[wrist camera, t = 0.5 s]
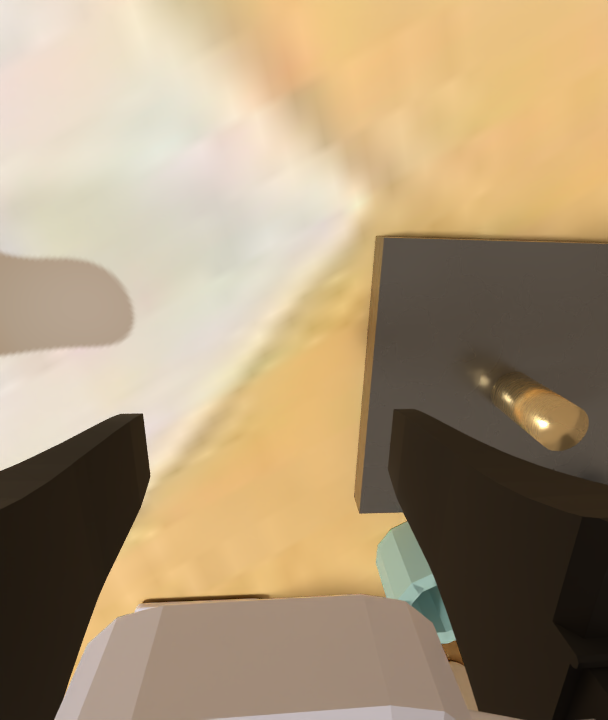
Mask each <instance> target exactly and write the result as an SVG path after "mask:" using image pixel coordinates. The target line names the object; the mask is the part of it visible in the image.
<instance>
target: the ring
mask: <svg viewBox="0 0 608 720" xmlns="http://www.w3.org/2000/svg"><path fill="white" fill-rule="evenodd" d="M376 565H377V568H378V572H379V575H380V578H381V582H382V585H383V588H384V591H385V595H386V598H391V599H397V600H402V601H406V602H407V603H408V604H409V605H411V606H412V607H413V608H414V609H416V610H417V611H418V612H419V613H421V614H422V615H423V616H425V617H426V618H427V619H428V620H430V621H431V622H432V623H433V625H434V627H435V630H436V632H437V635H438V637H439V640H440V642H441V644H446V643H450V642H452V641H455V640H456V639H455V636H454V633H453V630H452V627H451V624H450V621H449V618H448V615H447V612H446V609H445V606H444V604H443V601H442V598H441V595H440V592H439V590H438V587H437V584H436V581H435V579H434V576H433V574H432V572H431V569H430V567H429V565H428V563H427V561H426V558H425V556H424V554H423V552H422V550H421V548H420V546H419V544H418V542H417V540H416V538H415V536H414V534H413V532H412V530H411V527H410V525H409V523H408V521H407V522H405V523H403V524H401V525H399V526H397V527H394V528H392V529H391V530H390V531H389V532H388V533H387V535H386V536H385V537H384V538H383V540H382V541H381V542H380V543H379V545H378V549H377V558H376Z"/></svg>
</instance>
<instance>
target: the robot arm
mask: <svg viewBox="0 0 608 720" xmlns="http://www.w3.org/2000/svg"><path fill="white" fill-rule="evenodd" d="M388 472H389V475H390V479H391V482H392V485H393V488H394V491H395V495H396V498H397V500H398V502H399V504H400V506H401V509H402V511H403V513H404V515H405V517H406V519H407V521H408V523H409V525H410V527H411V530H412V532H413V534H414V536H415V538H416V540H417V542H418V544H419V546H420V548H421V550H422V552H423V554H424V556H425V558H426V561H427V563H428V565H429V567H430V569H431V572H432V574H433V576H434V579H435V581H436V584H437V587H438V590H439V592H440V595H441V598H442V601H443V604H444V606H445V609H446V612H447V615H448V618H449V621H450V624H451V627H452V630H453V633H454V636H455V639H456V641H457V644H458V647H459V650H460V653H461V656H462V660H463V663H464V666H465V669H466V673H467V676H468V679H469V682H470V686H471V689H472V692H473V695H474V698H475V702H476V705H477V708H478V711H474V710H469V709H467V706H466V704H465V701H464V699H463V696H462V694H461V691H460V689H459V686H458V684H457V682H456V679H455V677H454V674H453V672H452V669H451V667H450V664H449V662H448V659H447V657H446V654H445V652H444V649H443V647H442V644H441V642H440V640H439V637H438V635H437V632H436V630H435V627H434V625H433V623H432V622H431V621H430V620H428V619H427V618H426V617H425V616H423V615H422V614H421V613H419V612H418V611H417V610H416V609H414V608H413V607H412V606H411V605H409V604H408V603H407V602H406V601H402V600H397V599H391V598H384V597H378V596H372V595H365V594H348V595H329V596H311V597H292V598H273V599H257V598H251V599H228V600H205V601H182V602H159V603H142V604H139V605H138V606H137V607H136V609H135V613H131V614H127V615H123V616H120V617H117V618H116V619H115V620H114V621H113V622H112V623H110V624H109V625H108V626H107V627H106V628H105V629H104V630H103V631H101V632H100V633H99V634H98V635H97V636H96V637H95V638H94V639H92V640H91V641H90V642H89V643H88V644H87V646H86V648H85V651H84V653H83V655H82V657H81V660H80V662H79V664H78V667H77V669H76V671H75V673H74V676H73V678H72V680H71V683H70V685H69V687H68V689H67V685H68V682H69V679H70V676H71V673H72V670H73V667H74V665H75V662H76V659H77V656H78V653H79V650H80V647H81V644H82V641H83V638H84V635H85V632H86V630H87V627H88V624H89V621H90V619H91V616H92V613H93V610H94V608H95V605H96V602H97V599H98V597H99V594H100V592H101V590H102V588H103V585H104V583H105V581H106V578H107V576H108V574H109V572H110V570H111V568H112V566H113V564H114V562H115V560H116V558H117V556H118V554H119V552H120V550H121V548H122V546H123V543H124V541H125V539H126V537H127V535H128V533H129V531H130V529H131V527H132V525H133V523H134V521H135V518H136V516H137V514H138V512H139V510H140V508H141V505H142V502H143V499H144V496H145V493H146V489H147V486H148V483H149V479H150V469H149V460H148V452H147V444H146V436H145V427H144V419H143V414H119V415H116V416H114V417H111V418H109V419H107V420H105V421H103V422H101V423H99V424H97V425H95V426H93V427H91V428H89V429H87V430H85V431H84V432H82V433H80V434H78V435H76V436H74V437H72V438H70V439H68V440H66V441H64V442H63V443H61V444H58V445H56V446H54V447H52V448H50V449H48V450H46V451H44V452H42V453H40V454H38V455H36V456H34V457H31V458H29V459H27V460H25V461H23V462H21V463H18V464H16V465H14V466H11V467H9V468H7V469H4V470H2V471H0V720H608V485H606V484H602V483H598V482H594V481H590V480H586V479H582V478H579V477H575V476H572V475H568V474H565V473H562V472H558V471H555V470H552V469H549V468H545V467H542V466H539V465H537V464H534V463H531V462H528V461H526V460H523V459H520V458H518V457H515V456H512V455H510V454H508V453H505V452H503V451H500V450H498V449H496V448H494V447H492V446H489V445H487V444H485V443H483V442H481V441H478V440H476V439H474V438H472V437H470V436H468V435H466V434H464V433H462V432H460V431H458V430H457V429H455V428H453V427H451V426H449V425H447V424H445V423H443V422H441V421H439V420H437V419H436V418H434V417H432V416H430V415H428V414H426V413H423V412H421V411H419V410H416V409H394V410H393V420H392V430H391V441H390V451H389V461H388ZM66 689H67V692H66ZM65 692H66V694H65ZM64 695H65V696H64Z"/></svg>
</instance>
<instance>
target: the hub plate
mask: <svg viewBox="0 0 608 720" xmlns="http://www.w3.org/2000/svg"><path fill="white" fill-rule="evenodd" d="M394 409H416V410H419V411H421V412H423V413H426V414H428V415H430V416H432V417H434V418H436V419H437V420H439V421H441V422H443V423H445V424H447V425H449V426H451V427H453V428H455V429H457V430H458V431H460V432H462V433H464V434H466V435H468V436H470V437H472V438H474V439H476V440H478V441H481V442H483V443H485V444H487V445H489V446H492V447H494V448H496V449H498V450H500V451H503V452H505V453H508V454H510V455H512V456H515V457H518V458H520V459H523V460H526V461H528V462H531V463H534V464H537V465H539V466H542V467H545V468H549V469H552V470H555V471H558V472H562V473H565V474H568V475H572V476H575V477H579V478H582V479H586V480H590V481H594V482H598V483H602V484H606V485H608V243H591V242H557V241H522V240H488V239H453V238H419V237H384V236H376V241H375V253H374V265H373V277H372V289H371V301H370V313H369V325H368V337H367V349H366V361H365V373H364V385H363V396H362V408H361V420H360V432H359V444H358V456H357V468H356V480H355V492H354V498H355V501H356V504H357V508H358V511H359V514H360V513H396V512H403V511H402V509H401V506H400V504H399V502H398V500H397V498H396V495H395V491H394V488H393V485H392V482H391V479H390V475H389V472H388V461H389V451H390V441H391V430H392V420H393V410H394Z"/></svg>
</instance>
